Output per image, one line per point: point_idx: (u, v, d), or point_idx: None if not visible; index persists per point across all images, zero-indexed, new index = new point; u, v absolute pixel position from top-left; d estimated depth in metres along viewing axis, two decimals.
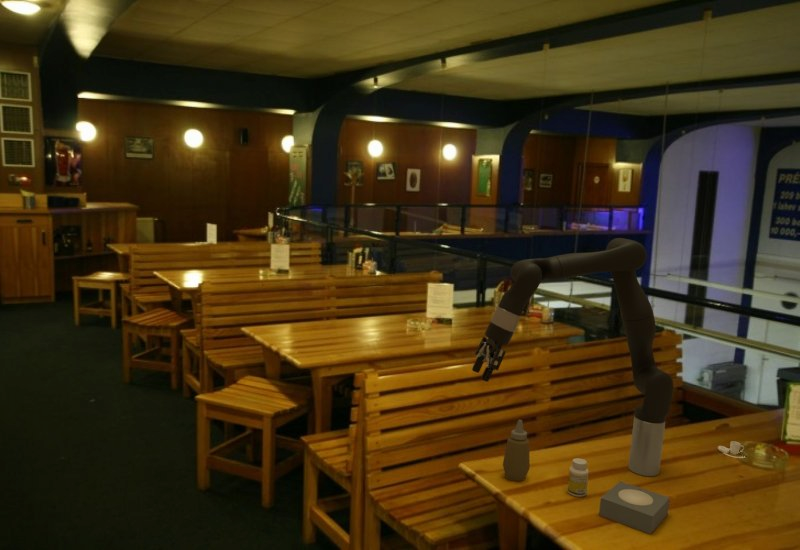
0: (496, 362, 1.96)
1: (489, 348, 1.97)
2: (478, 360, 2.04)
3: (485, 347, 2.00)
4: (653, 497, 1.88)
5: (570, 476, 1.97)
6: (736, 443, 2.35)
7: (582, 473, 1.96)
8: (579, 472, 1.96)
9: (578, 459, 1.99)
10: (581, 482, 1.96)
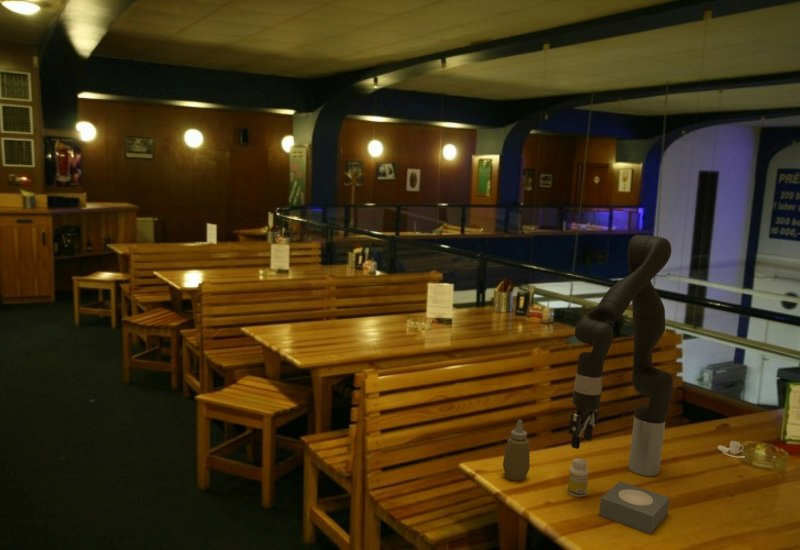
0: (581, 428, 1.92)
1: None
2: (586, 428, 2.00)
3: None
4: (653, 497, 1.88)
5: (570, 476, 1.97)
6: (736, 443, 2.36)
7: (582, 473, 1.96)
8: (579, 472, 1.96)
9: (578, 459, 1.99)
10: (581, 482, 1.96)
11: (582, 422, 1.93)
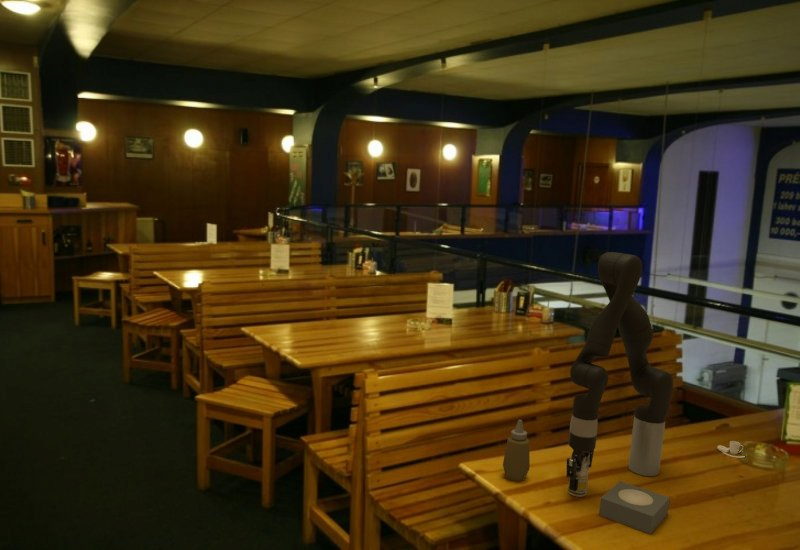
0: (578, 471, 1.95)
1: (572, 456, 1.97)
2: None
3: None
4: (653, 497, 1.88)
5: None
6: (735, 443, 2.36)
7: (582, 473, 1.95)
8: None
9: None
10: (581, 482, 1.96)
11: (578, 464, 1.95)
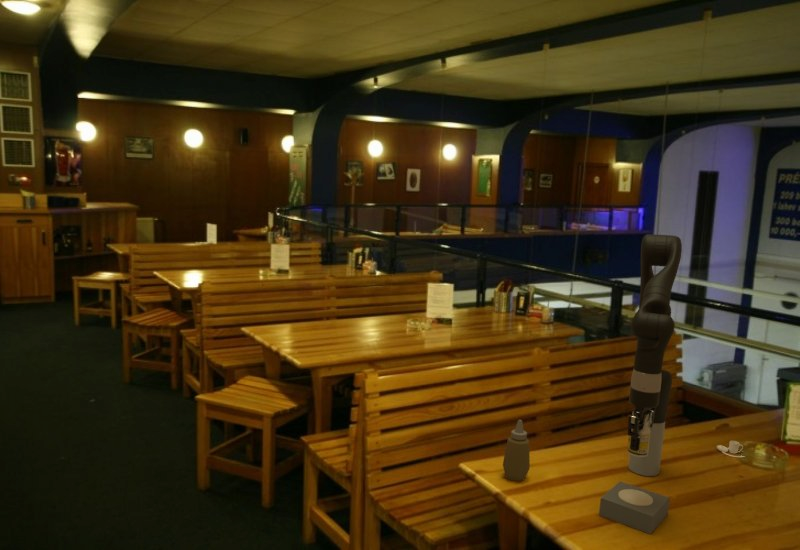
0: (640, 429, 1.81)
1: (633, 414, 1.83)
2: None
3: None
4: (653, 497, 1.88)
5: None
6: (735, 442, 2.36)
7: (644, 432, 1.82)
8: None
9: None
10: (643, 442, 1.82)
11: (640, 422, 1.82)
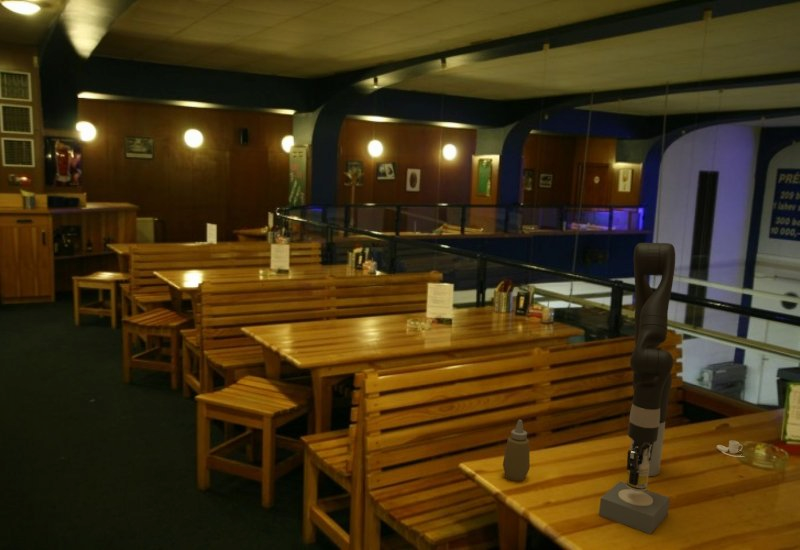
0: (639, 464, 1.82)
1: (632, 448, 1.84)
2: None
3: None
4: (653, 497, 1.88)
5: None
6: (735, 442, 2.36)
7: (643, 466, 1.83)
8: None
9: None
10: (642, 476, 1.83)
11: (639, 457, 1.83)
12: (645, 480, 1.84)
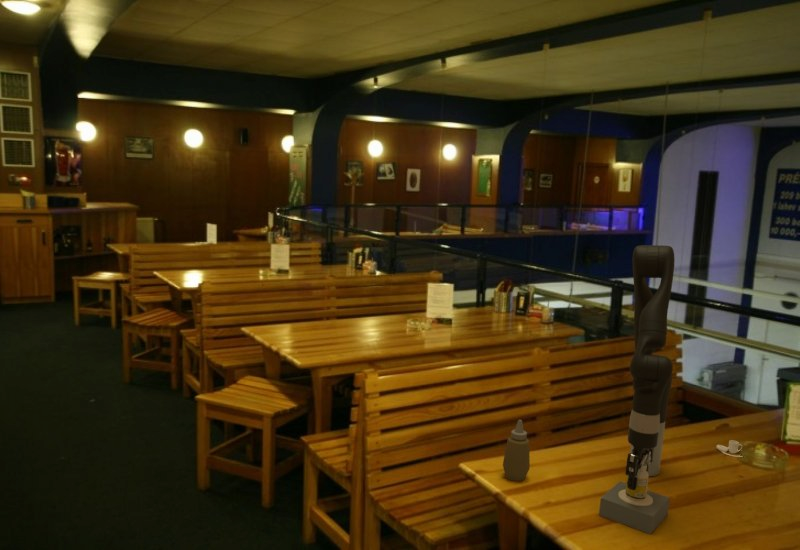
0: (638, 468, 1.82)
1: (632, 453, 1.85)
2: None
3: None
4: (653, 497, 1.88)
5: None
6: (735, 442, 2.36)
7: (642, 476, 1.83)
8: (639, 475, 1.84)
9: None
10: (641, 486, 1.84)
11: (639, 462, 1.83)
12: (644, 490, 1.84)
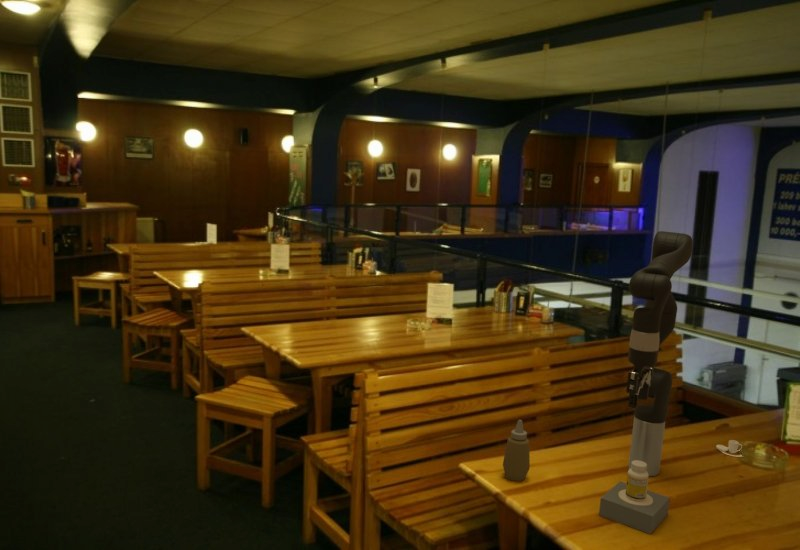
0: (639, 386, 1.84)
1: None
2: (641, 386, 1.92)
3: None
4: (653, 497, 1.88)
5: (629, 479, 1.85)
6: (734, 442, 2.36)
7: (642, 476, 1.83)
8: (639, 475, 1.84)
9: (637, 461, 1.87)
10: (641, 486, 1.84)
11: (639, 380, 1.85)
12: (644, 490, 1.84)
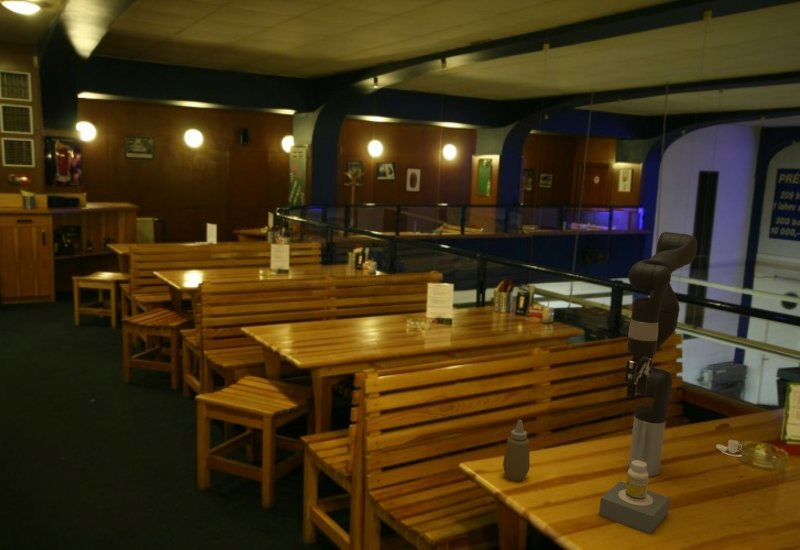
0: (637, 375, 1.86)
1: None
2: (640, 377, 1.94)
3: None
4: (653, 497, 1.88)
5: (629, 479, 1.85)
6: (734, 442, 2.36)
7: (642, 476, 1.83)
8: (639, 475, 1.84)
9: (637, 461, 1.87)
10: (641, 486, 1.84)
11: (638, 370, 1.87)
12: (644, 490, 1.84)
